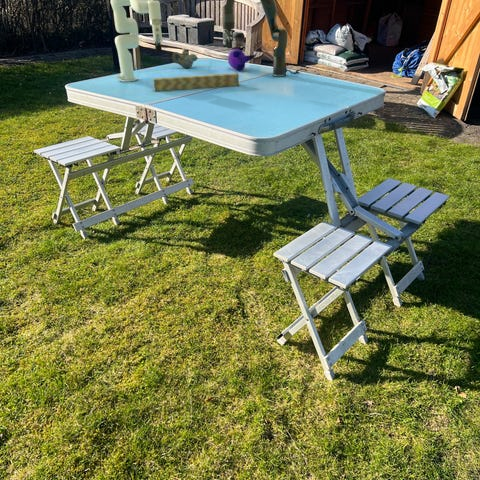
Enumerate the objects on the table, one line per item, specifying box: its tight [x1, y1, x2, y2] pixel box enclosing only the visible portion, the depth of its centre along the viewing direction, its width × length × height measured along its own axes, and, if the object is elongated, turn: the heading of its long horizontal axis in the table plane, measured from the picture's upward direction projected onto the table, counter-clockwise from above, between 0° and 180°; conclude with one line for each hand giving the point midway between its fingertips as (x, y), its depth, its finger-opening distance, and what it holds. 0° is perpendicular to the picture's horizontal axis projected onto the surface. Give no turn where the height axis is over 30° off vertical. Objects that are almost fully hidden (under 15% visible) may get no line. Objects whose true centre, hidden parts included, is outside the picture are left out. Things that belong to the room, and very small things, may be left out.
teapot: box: [172, 48, 198, 69], centre depth 382 cm, size 21×12×15 cm, turn 109°
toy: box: [227, 48, 258, 72], centre depth 368 cm, size 16×18×27 cm
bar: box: [152, 72, 240, 92], centre depth 314 cm, size 59×5×8 cm, turn 104°
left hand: (158, 50), depth 298 cm, fingers open, 9 cm apart
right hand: (229, 47), depth 308 cm, fingers open, 8 cm apart
